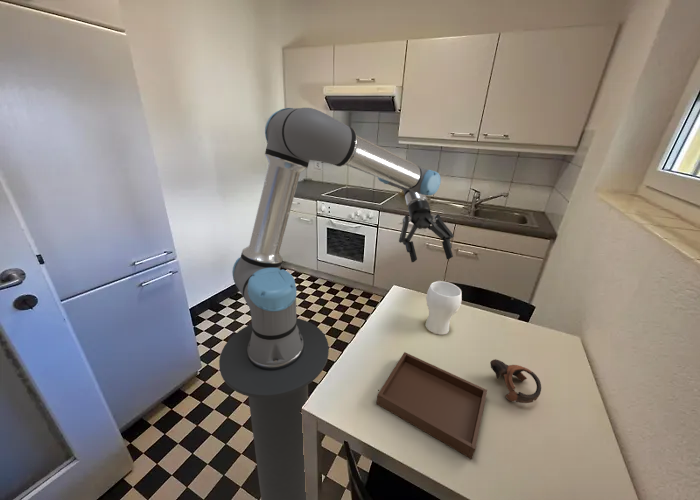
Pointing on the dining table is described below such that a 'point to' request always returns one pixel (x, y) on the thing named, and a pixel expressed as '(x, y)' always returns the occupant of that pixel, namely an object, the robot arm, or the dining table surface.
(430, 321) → the cup
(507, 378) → the brown curled loop
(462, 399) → the tray
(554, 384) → the dining table surface
